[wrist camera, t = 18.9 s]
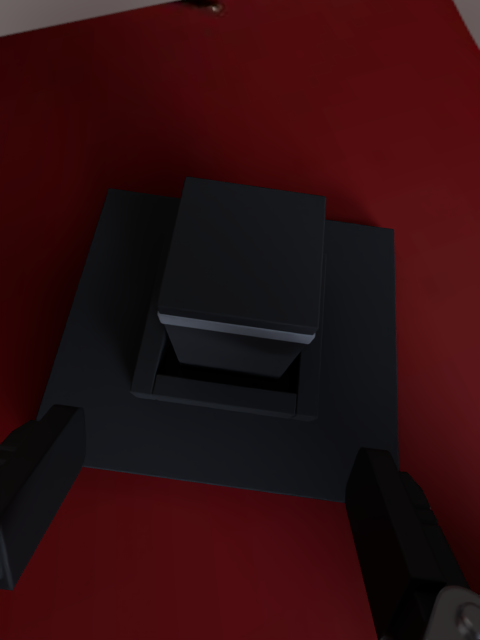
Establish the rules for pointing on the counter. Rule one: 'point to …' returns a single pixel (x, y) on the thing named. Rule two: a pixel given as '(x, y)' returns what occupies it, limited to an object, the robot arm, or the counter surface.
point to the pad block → (242, 277)
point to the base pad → (222, 389)
